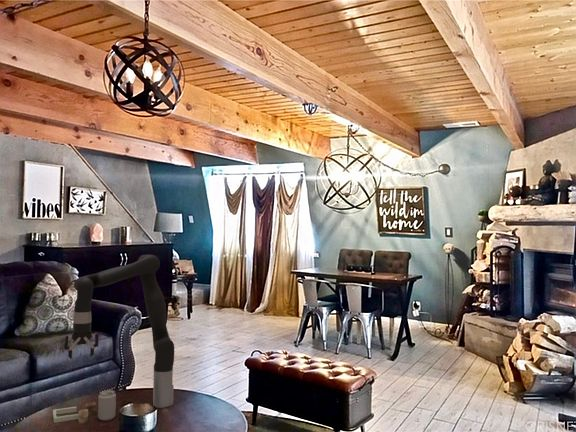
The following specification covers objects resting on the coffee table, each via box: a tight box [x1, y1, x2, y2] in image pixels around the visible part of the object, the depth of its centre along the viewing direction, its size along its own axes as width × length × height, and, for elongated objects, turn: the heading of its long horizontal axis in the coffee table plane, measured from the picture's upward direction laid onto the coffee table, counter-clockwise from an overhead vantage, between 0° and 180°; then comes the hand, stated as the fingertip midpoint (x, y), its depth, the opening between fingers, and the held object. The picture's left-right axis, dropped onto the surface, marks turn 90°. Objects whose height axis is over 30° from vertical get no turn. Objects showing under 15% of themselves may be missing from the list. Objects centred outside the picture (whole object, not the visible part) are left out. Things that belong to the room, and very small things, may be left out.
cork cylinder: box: [77, 408, 89, 425], centre depth 218 cm, size 4×4×5 cm
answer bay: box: [52, 406, 79, 424], centre depth 224 cm, size 10×11×2 cm
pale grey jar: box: [97, 389, 117, 422], centre depth 223 cm, size 8×8×12 cm
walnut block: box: [84, 401, 97, 417], centre depth 228 cm, size 4×4×4 cm
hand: (81, 357), depth 220 cm, fingers open, 8 cm apart
